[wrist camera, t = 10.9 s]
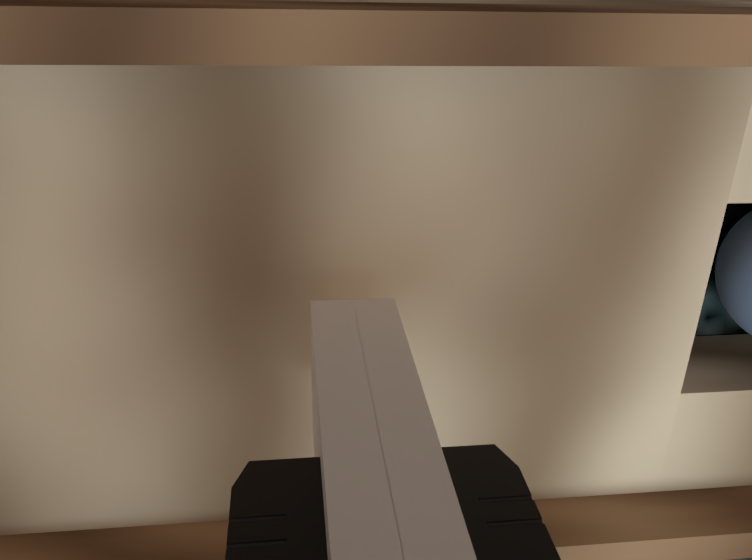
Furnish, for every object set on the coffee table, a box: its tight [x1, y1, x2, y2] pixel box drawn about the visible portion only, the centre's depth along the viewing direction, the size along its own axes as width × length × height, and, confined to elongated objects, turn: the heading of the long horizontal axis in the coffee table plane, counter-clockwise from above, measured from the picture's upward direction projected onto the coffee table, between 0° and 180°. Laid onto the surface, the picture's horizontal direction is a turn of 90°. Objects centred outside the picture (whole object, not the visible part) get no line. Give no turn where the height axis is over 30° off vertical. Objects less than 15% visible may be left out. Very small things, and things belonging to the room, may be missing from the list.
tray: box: [0, 0, 752, 560], centre depth 15 cm, size 30×12×4 cm, turn 89°
